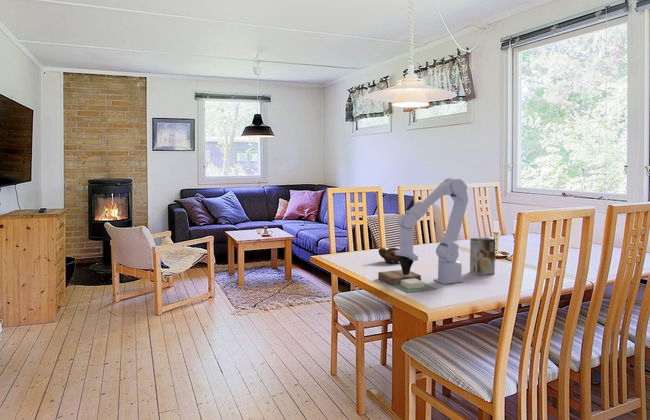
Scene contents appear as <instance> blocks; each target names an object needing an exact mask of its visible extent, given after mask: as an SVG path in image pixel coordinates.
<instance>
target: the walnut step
mask: <svg viewBox="0 0 650 420" xmlns="http://www.w3.org/2000/svg"><path fill="white" fill-rule="evenodd" d="M377 275H378V277H377V279H378V280H380V281H381V282H383V283H386V284H388V285H390V286H392V285H395V284H401V280H404V279H414V278H416V279H418V280H420V281H422V275H421V274H418V273H416V272H413V271H411V270H410V272H409V275H403V272H402V269H397V270H388V271H379V272H378V273H377Z"/></svg>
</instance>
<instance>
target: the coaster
mask: <svg viewBox="0 0 650 420" xmlns="http://www.w3.org/2000/svg"><path fill="white" fill-rule="evenodd" d="M424 283H425V282H424V281H422V280H421V281H420V280H418V279H416V278H414V279H404V280H401V285H402V286H404V287H406V288H408V289H412V288H421V287H424Z"/></svg>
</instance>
